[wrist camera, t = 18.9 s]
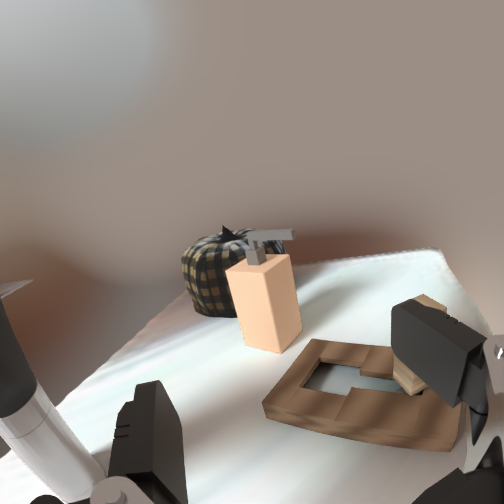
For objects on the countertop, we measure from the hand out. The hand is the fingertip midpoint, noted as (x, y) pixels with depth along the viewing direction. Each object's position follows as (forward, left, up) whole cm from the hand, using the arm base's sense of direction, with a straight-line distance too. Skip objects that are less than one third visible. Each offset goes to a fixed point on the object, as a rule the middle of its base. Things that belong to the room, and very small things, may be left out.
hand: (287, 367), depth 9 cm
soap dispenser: (-25, +35, -27) cm, 51 cm away
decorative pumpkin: (-48, +52, -27) cm, 76 cm away
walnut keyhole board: (-4, +24, -27) cm, 36 cm away
